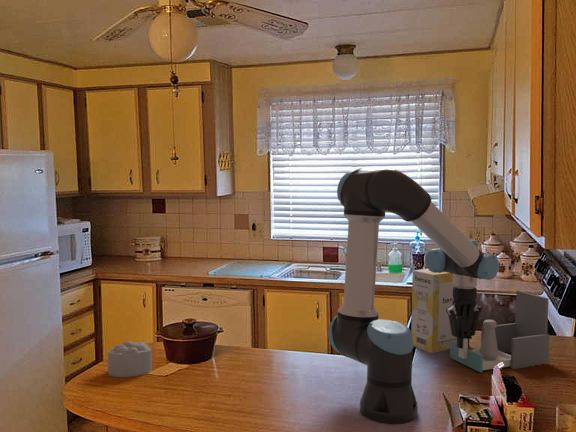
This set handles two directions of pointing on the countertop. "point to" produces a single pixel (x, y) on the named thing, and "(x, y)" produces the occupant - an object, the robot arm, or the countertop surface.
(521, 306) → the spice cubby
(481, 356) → the tray
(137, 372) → the lumpy-topped squat cylinder
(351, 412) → the countertop surface
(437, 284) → the pasta box
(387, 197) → the robot arm
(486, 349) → the salt shaker
